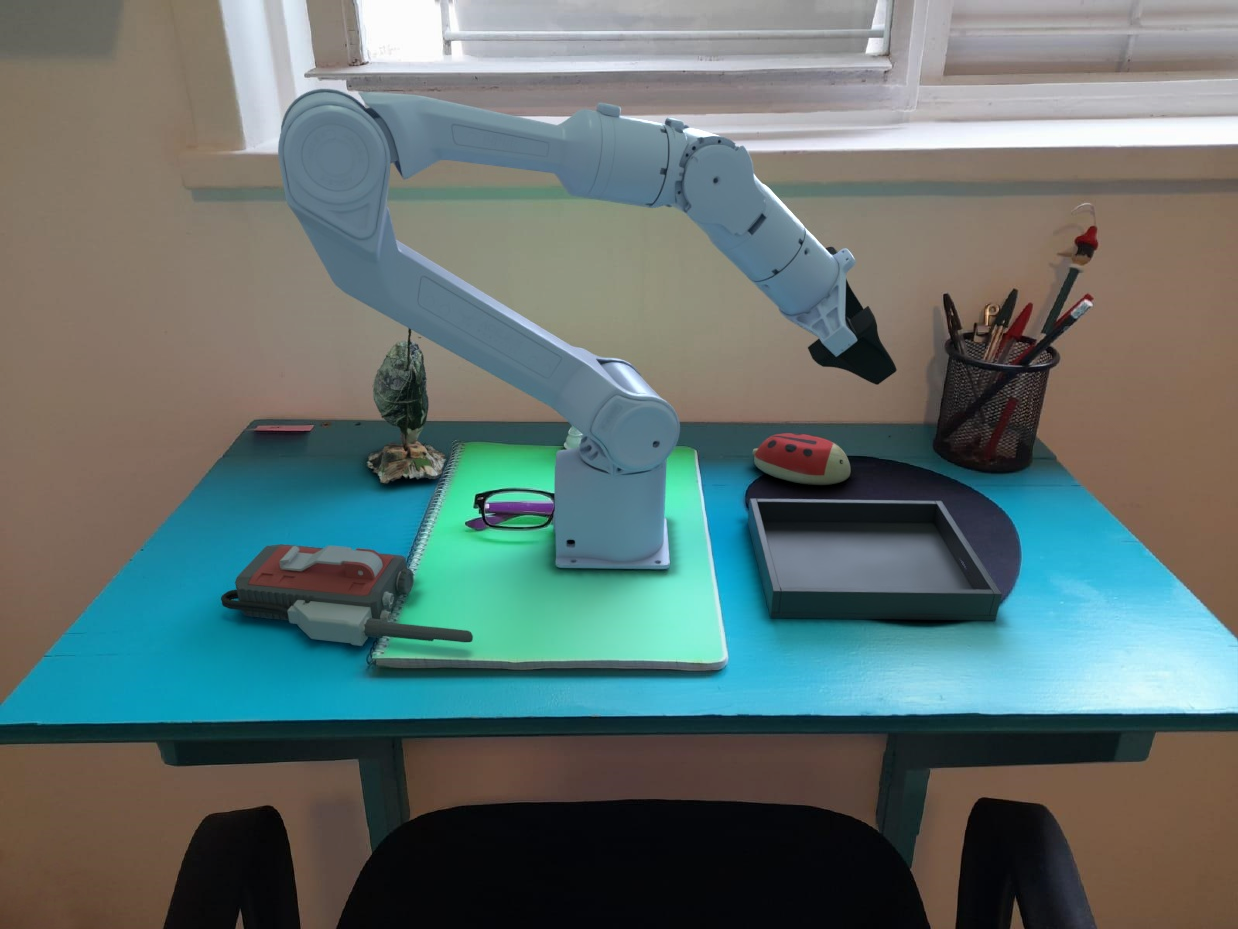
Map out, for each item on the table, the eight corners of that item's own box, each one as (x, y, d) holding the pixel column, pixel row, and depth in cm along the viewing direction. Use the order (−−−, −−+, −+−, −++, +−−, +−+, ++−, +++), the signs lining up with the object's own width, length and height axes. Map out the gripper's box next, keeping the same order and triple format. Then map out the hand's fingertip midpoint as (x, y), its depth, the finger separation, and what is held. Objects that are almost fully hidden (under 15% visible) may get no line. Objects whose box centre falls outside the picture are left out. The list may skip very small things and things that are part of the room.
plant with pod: (452, 438, 94) (436, 253, 85) (443, 488, 84) (424, 285, 75) (376, 440, 93) (351, 254, 84) (357, 491, 83) (327, 286, 74)
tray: (770, 618, 66) (773, 591, 65) (747, 522, 79) (749, 498, 78) (995, 620, 66) (1002, 594, 65) (936, 524, 79) (941, 500, 78)
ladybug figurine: (846, 495, 84) (851, 462, 82) (744, 479, 86) (747, 447, 85) (852, 465, 89) (856, 433, 88) (756, 451, 92) (759, 420, 90)
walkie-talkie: (206, 634, 64) (469, 663, 61) (194, 584, 62) (464, 612, 59) (267, 568, 72) (502, 591, 69) (257, 522, 70) (499, 544, 67)
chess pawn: (583, 454, 90) (582, 410, 88) (559, 449, 91) (558, 405, 89) (595, 443, 93) (595, 400, 90) (571, 438, 94) (570, 396, 91)
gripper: (842, 262, 60) (942, 369, 67) (793, 176, 71) (884, 276, 78) (764, 326, 63) (867, 423, 70) (728, 235, 74) (821, 326, 81)
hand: (871, 349), depth 74 cm, fingers open, 7 cm apart
